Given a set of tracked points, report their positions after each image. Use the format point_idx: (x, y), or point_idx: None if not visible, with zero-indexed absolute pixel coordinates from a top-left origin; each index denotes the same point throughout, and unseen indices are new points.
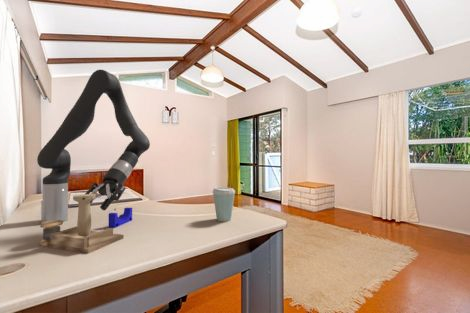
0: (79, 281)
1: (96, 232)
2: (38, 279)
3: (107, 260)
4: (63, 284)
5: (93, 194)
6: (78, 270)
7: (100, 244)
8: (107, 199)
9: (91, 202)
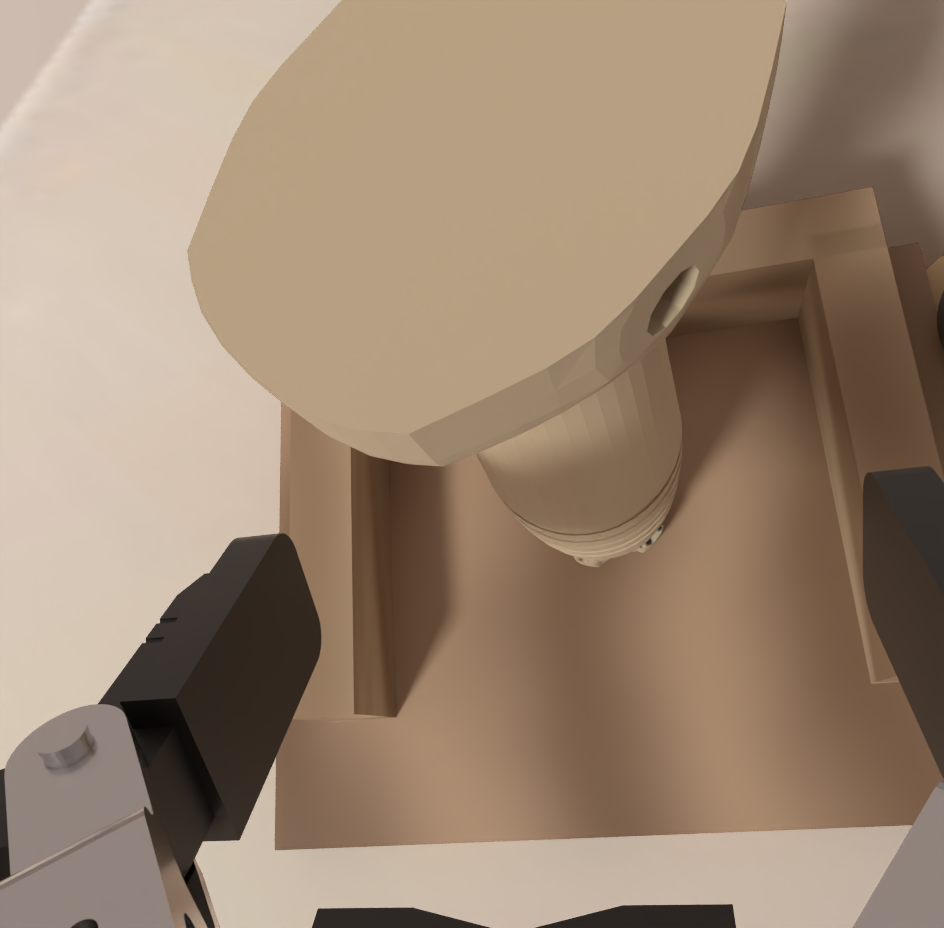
0: (10, 117)
1: (744, 788)
2: (249, 12)
3: (47, 353)
4: (66, 62)
5: (341, 361)
6: (121, 175)
7: (281, 483)
8: (139, 708)
9: (930, 745)
